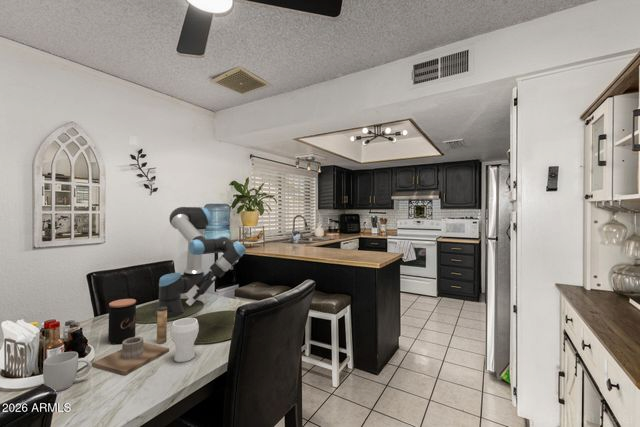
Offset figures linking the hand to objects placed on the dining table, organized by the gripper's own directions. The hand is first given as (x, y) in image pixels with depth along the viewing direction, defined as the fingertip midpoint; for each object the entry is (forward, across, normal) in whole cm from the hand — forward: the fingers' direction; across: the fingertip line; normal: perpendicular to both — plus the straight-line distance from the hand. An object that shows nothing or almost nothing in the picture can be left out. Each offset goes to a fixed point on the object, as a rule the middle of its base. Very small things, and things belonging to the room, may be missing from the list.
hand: (187, 300), depth 139 cm
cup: (+14, -20, -12) cm, 27 cm away
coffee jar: (+33, +10, +7) cm, 35 cm away
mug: (+40, -24, +14) cm, 49 cm away
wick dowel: (+21, 0, -5) cm, 21 cm away
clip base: (+28, -12, +2) cm, 30 cm away
